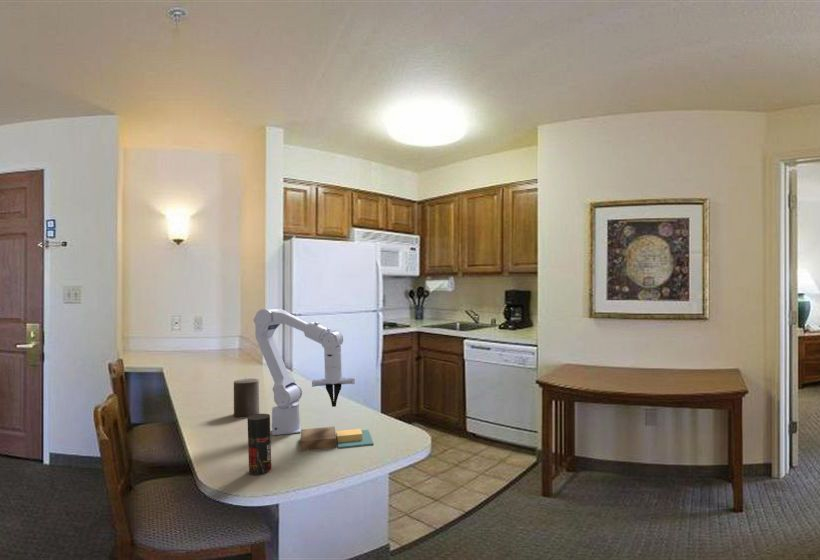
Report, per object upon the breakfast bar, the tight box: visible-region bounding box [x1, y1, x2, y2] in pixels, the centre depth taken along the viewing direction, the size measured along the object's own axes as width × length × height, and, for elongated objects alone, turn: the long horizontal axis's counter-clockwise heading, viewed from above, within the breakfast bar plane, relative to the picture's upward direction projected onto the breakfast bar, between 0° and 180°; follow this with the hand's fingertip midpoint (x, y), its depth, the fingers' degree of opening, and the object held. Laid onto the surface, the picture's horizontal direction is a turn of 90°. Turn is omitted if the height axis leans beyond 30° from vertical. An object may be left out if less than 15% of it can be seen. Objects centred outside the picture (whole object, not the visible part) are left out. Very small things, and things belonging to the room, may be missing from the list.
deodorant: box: [246, 413, 272, 476], centre depth 127 cm, size 6×6×15 cm
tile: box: [336, 428, 363, 443], centre depth 149 cm, size 8×6×2 cm
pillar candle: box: [233, 377, 260, 418], centre depth 184 cm, size 10×10×15 cm
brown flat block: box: [299, 426, 338, 452], centre depth 147 cm, size 11×12×3 cm
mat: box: [335, 429, 374, 449], centre depth 150 cm, size 11×14×1 cm
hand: (334, 405), depth 157 cm, fingers closed
